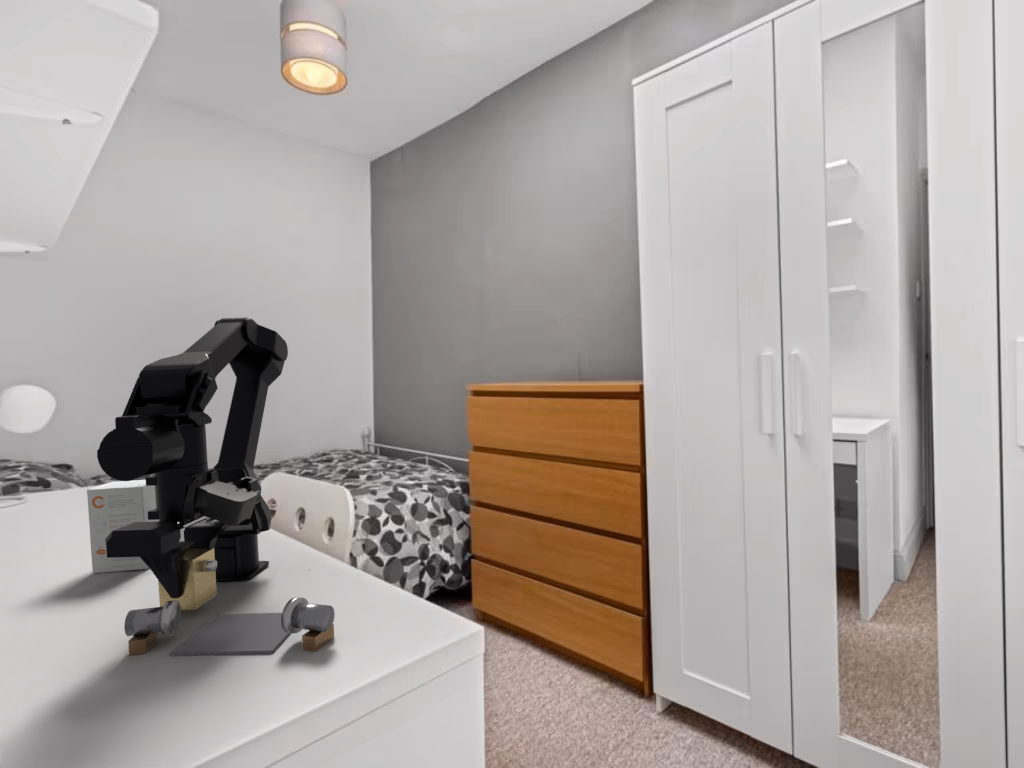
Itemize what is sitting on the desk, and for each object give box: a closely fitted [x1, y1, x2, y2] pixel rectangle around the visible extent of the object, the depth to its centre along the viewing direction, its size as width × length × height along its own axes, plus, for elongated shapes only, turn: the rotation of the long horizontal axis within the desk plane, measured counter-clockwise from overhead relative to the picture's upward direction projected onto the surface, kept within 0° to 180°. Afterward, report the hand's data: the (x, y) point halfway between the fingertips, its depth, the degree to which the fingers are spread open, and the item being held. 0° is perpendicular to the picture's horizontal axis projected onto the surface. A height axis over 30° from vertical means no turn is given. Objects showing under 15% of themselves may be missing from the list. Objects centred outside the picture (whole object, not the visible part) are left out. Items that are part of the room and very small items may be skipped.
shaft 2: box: [281, 596, 335, 652], centre depth 59 cm, size 4×4×5 cm
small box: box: [86, 479, 159, 574], centre depth 87 cm, size 8×6×13 cm
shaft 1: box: [124, 600, 182, 656], centre depth 60 cm, size 4×4×5 cm
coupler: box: [157, 548, 218, 611], centre depth 68 cm, size 4×7×6 cm, turn 88°
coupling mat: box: [169, 612, 291, 656], centre depth 62 cm, size 9×11×1 cm
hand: (188, 589), depth 68 cm, fingers closed on coupler, 4 cm apart
